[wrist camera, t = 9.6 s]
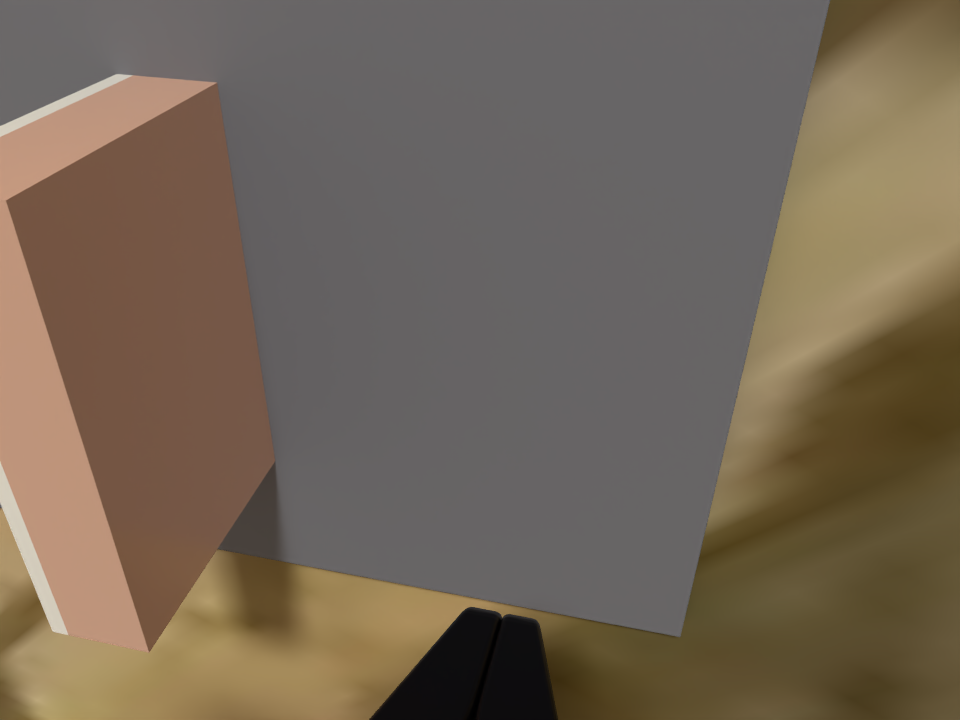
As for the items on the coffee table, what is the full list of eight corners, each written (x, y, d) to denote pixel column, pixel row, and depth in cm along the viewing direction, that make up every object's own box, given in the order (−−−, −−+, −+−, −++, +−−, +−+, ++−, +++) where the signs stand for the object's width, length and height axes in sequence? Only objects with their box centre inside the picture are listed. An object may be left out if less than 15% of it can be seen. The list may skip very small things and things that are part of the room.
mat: (893, -295, 10) (899, -299, 9) (680, 622, 18) (680, 636, 18) (-365, -297, 13) (-394, -299, 12) (-28, 489, 21) (-39, 500, 21)
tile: (216, 82, 13) (6, 200, 9) (275, 460, 18) (148, 652, 14) (117, 73, 14) (-130, 183, 10) (197, 448, 18) (53, 631, 14)
